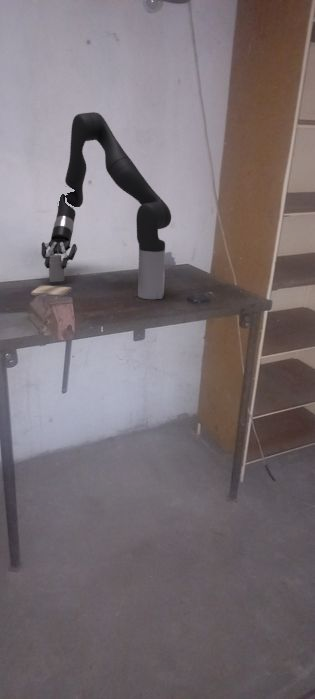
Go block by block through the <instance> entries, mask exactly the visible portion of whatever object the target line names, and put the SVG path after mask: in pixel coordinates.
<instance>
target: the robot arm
mask: <svg viewBox="0 0 315 699" xmlns="http://www.w3.org/2000/svg"><path fill="white" fill-rule="evenodd" d="M90 141H97V142H98V143H99V145H100V146H101V148H102V149H103V152H104V156H105V157H104V158H105V159H104V161H105V169H106V172H107V173H108V175H109V177H110V178H111V179H112V181H113V182H114V184H115V185H116V186H117V187H118V188H120V190H122V191H123V192H125V193H126V194H128V195H129V196H130V197H132V198H134V199H135V200H136V201H137V202H138V203H139V204H140V206H139V207H138V209H137V212H136V240H137V243H138V279H137V280H138V281H137V283H138V284H137V297H138V298H140V299H144V300H162V299H163V298H164V295H165V280H166V279H165V274H166V270H165V257H166V256H165V255H166V243H165V241H164V240H162V239H160V238H159V230H161V229H165V228H167V227H168V226H170V224H171V222H172V213H171V210H170V207H169V206H168V205H167V204H166V203H165V201H164V200H163V199H162V198H161V196H159V194H157V193H156V191H154V189H153V188H152V186H151V185H150V184H149V183H148V181H147V180H146V179H145V177H144V176H143V175H142V173H141V172H140V171H139V169H138V168H137V166H136V165H135V163H134V162H133V160H131V158H130V156H129V155H128V154H127V153H126V152H125V150H124V148H123V147H122V146H121V144H120V143H119V140H117V138H116V136H115V135H114V134H113V131H112V129H111V128H110V127H109V125H108V123H107V121H106V119H105V118H104V117H103V115H101V113H99V112H94V111H93V112H82V113H78V114H76V115H75V116H74V117H73V120H72V124H71V130H70V146H69V147H70V148H69V149H70V150H69V160H68V161H69V162H68V165H67V171H66V175H65V179H64V180H65V184H66V185H67V187H69V188H72V189H74V190H75V191H74V192H70V193H67V194H68V195H66V196H65V195H64V194H62V195H61V197H60V201H59V206H58V205H57V213H56V219H55V221H54V223H53V228H52V232H51V237H50V241H49V242H48V243H46V242H41V256H42V258H43V259H45V260H44V263H43V264H44V266H45V268H46V269H49V263H48V262H50V256H52V255H53V251H54V255H63V258H62V259H61V260H62V265H61V267H62V269H64V270H65V269H66V268H67V267H68V266H67V265H68V262H69V261H73V260H74V257H75V255H76V253H77V251H78V245H77V244H76V243H74V244H71V241H72V236H73V233H74V223H75V219H76V210H75V209H74V207H79V208H80V207H81V206H82V205H83V202H84V192H83V191H84V190H83V189H84V188H83V186H84V181H85V178H86V174H87V162H86V160H85V157H84V153H83V150H84V145H85V144H86V142H90ZM65 197H66V198H67V202H68V203H69V204H71V205H72V206H74V207H70V206H68V205H67V204H66V203H65ZM48 248H49V249H48ZM57 249H58V251H57ZM69 249H70V252H69V253H67V251H68V250H69ZM47 250H48V252H47ZM57 252H58V253H57Z"/></svg>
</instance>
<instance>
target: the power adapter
mask: <svg viewBox="0 0 315 699" xmlns="http://www.w3.org/2000/svg"><path fill="white" fill-rule="evenodd" d="M57 251H58V249H57ZM52 252H53V255H52V256H50V262H48V263H49V268H48V276H49V277H48V278H49V282H52V283H56V282H63V281H65V269H62V267H61V265H62V260H63V259H62V254H55V255H54V251H52ZM57 253H58V252H57Z"/></svg>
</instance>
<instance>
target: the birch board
mask: <svg viewBox="0 0 315 699" xmlns="http://www.w3.org/2000/svg"><path fill="white" fill-rule="evenodd" d="M71 291H72V287H71V286H70V287H69V286H56V285H53V286H52V285H39V286H37V288H35V289H33V290H32V291H31V292H30V295H31V296H36V297H37V295H39V294H48V295H66V296H67V295H68V294H69V293H70V292H71Z"/></svg>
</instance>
